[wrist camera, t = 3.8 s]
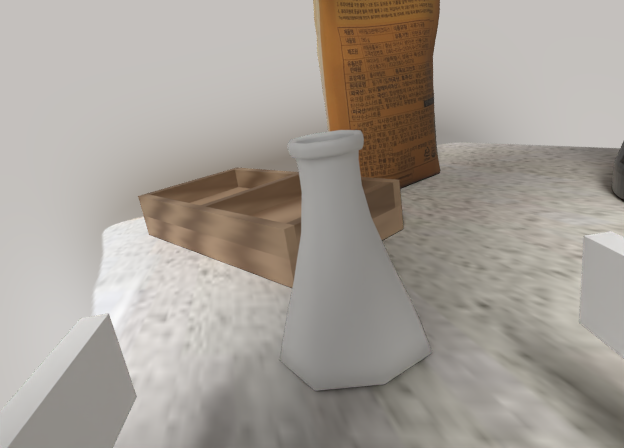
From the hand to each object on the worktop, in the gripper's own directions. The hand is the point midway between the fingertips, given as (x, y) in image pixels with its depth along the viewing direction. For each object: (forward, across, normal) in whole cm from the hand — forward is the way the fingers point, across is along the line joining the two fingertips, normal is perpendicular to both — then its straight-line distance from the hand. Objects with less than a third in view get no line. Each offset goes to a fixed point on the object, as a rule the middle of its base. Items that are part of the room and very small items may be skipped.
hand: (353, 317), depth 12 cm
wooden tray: (+26, -5, -6) cm, 27 cm away
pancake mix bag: (+35, +10, -6) cm, 37 cm away
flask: (+7, 0, -6) cm, 10 cm away
